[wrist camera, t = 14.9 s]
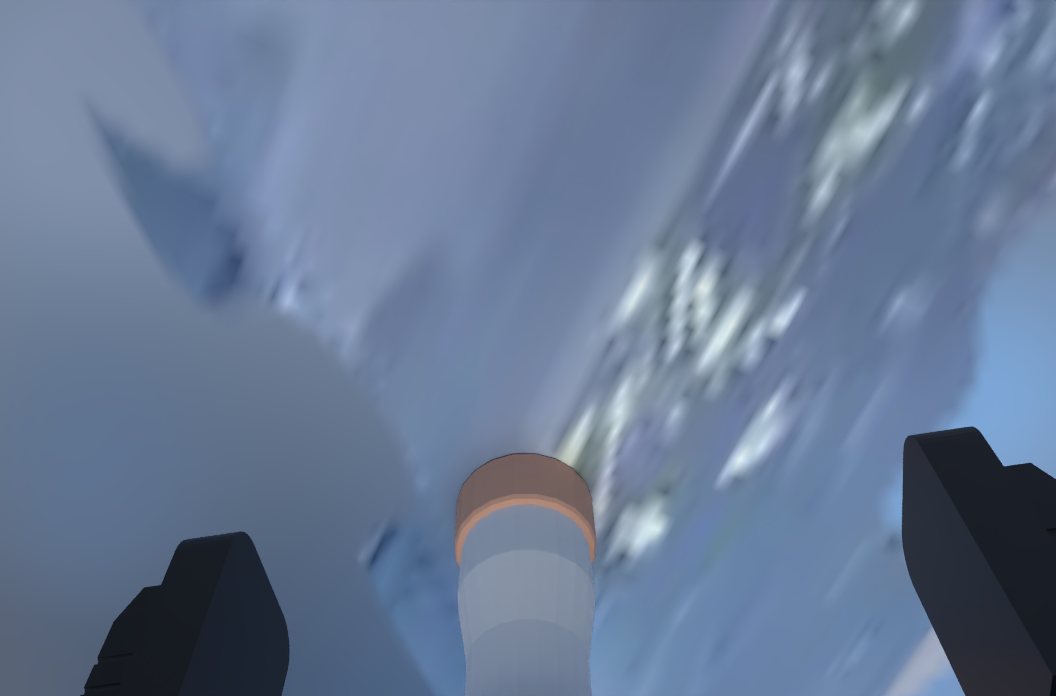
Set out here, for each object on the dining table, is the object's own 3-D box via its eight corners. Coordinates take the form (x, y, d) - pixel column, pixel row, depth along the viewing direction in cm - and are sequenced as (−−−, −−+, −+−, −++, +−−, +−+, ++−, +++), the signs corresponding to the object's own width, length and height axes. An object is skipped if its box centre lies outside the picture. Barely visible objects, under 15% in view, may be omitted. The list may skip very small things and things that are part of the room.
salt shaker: (600, 548, 56) (638, 881, 40) (471, 566, 57) (456, 902, 40) (582, 443, 53) (615, 763, 36) (444, 463, 53) (415, 788, 37)
